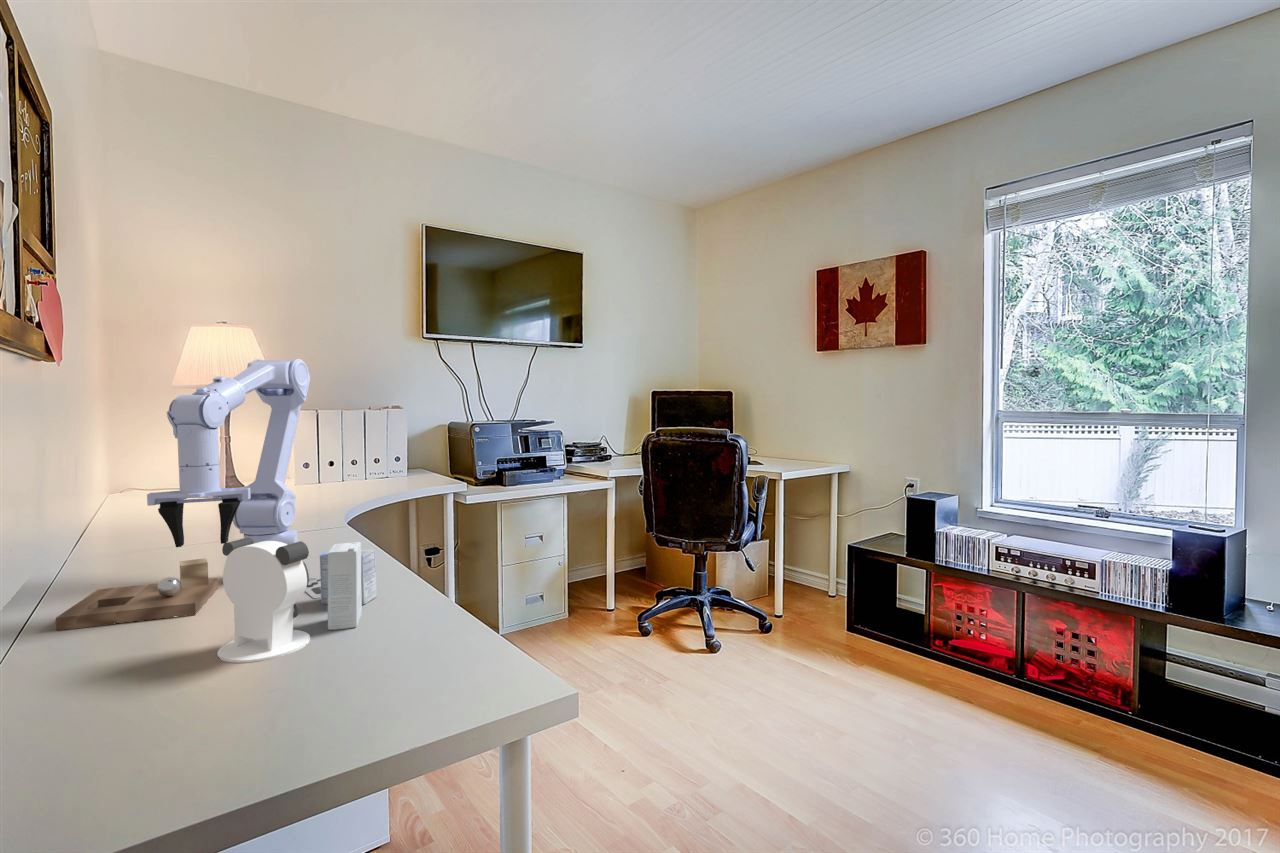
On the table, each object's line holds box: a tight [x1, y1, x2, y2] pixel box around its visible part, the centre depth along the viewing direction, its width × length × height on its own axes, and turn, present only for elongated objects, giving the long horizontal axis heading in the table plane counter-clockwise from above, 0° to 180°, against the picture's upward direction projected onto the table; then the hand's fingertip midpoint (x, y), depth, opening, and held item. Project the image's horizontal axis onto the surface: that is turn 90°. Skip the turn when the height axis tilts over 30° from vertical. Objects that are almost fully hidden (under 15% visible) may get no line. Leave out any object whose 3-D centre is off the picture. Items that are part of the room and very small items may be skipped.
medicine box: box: [319, 548, 378, 605], centre depth 112 cm, size 8×4×9 cm, turn 84°
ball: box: [157, 576, 181, 597], centre depth 109 cm, size 3×3×3 cm
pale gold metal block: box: [179, 557, 209, 589], centre depth 116 cm, size 4×4×4 cm
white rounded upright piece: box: [217, 537, 311, 664], centre depth 91 cm, size 12×11×15 cm
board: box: [55, 577, 219, 632], centre depth 109 cm, size 18×16×2 cm
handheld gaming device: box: [304, 575, 321, 600], centre depth 122 cm, size 9×1×15 cm
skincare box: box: [327, 541, 363, 631], centre depth 101 cm, size 6×4×12 cm
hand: (202, 544), depth 110 cm, fingers open, 6 cm apart
